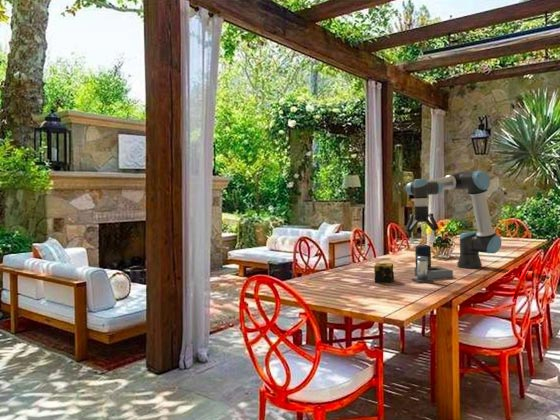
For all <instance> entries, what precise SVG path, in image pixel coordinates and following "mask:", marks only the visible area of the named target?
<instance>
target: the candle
mask: <svg viewBox="0 0 560 420" xmlns="http://www.w3.org/2000/svg"><path fill="white" fill-rule="evenodd" d="M373 268H374V283H377V284H378V283H381V284H393V282H394V280H395V276H394V275H395V272H394V263H393V262H392V263H391V262H390V263H389V262H388V263H387V262H378V263H377V262H376V263H375V264H374V266H373Z"/></svg>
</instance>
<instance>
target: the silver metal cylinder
mask: <svg viewBox="0 0 560 420" xmlns="http://www.w3.org/2000/svg"><path fill="white" fill-rule="evenodd" d="M416 278H417V279H418V280H428V266H427V257H426V256H418V257H417V276H416Z"/></svg>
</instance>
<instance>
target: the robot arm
mask: <svg viewBox="0 0 560 420" xmlns="http://www.w3.org/2000/svg"><path fill="white" fill-rule="evenodd" d="M490 185H491V179H490V176H489V174H488V173H487V172H486V171H483V170H470V171H461V172H456V173H452V174H448V175H446V176H444V177H438V178H433V179H428V178H416V179H414V180H413V182H412V181H411V182H408V183H406V186H405V192H406V193H407V195H410V196H411V195H412V196H413V197H414V198H413V199H414V202H413V203H414V207H413V208H414V214H409V219H408V221H407V223H406V225H405V228H404V231H405V232H407V237H408V238H409V244H414V232H413V230H414V228H416V226H417V225H418V223H426V225H428V227H429V228H430V229H431V230H430V242H432V243H435V239H436V238H435V237H436V236H437V234H436V233H437V232H436V231H437V230H439V229H440V228H439V225H438V223H437V222H436V219H435V217H434V213H429V206H428V205H429V196H432V195H440V194H441V193H442V192H443V190H448V191H452V190H459V191H460V190H463V191H466V192H467V195H469V196H470V197H471V203H472V208H473V214H474V218H475V222H476V223H475V224H476V228H477V231H473V232H471V231H470V232H462V233H460V235H459V257H458V260H457V265H456V266H457V267H458V268H463V269H480V268H483V266H482V261H481V258H480V255H479V254H480V253H481V254H482V253H483V254H496V253H498V252H499V251H500V250H501V246H502V237H501V236H500V235H497V233H496V230H494V229H493V225H492V221H491V215H490V211H489V204H488V199H487V194H486V193H488V189H489V188H490Z"/></svg>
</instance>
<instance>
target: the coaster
mask: <svg viewBox="0 0 560 420" xmlns="http://www.w3.org/2000/svg"><path fill="white" fill-rule="evenodd" d="M434 280H435V279H433V280H432V279H428V280H418V279H417V277H415V278H413V277H412V278H411V281H412V282H415V283H418V284H427V283H434V282H435V281H434Z"/></svg>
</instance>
